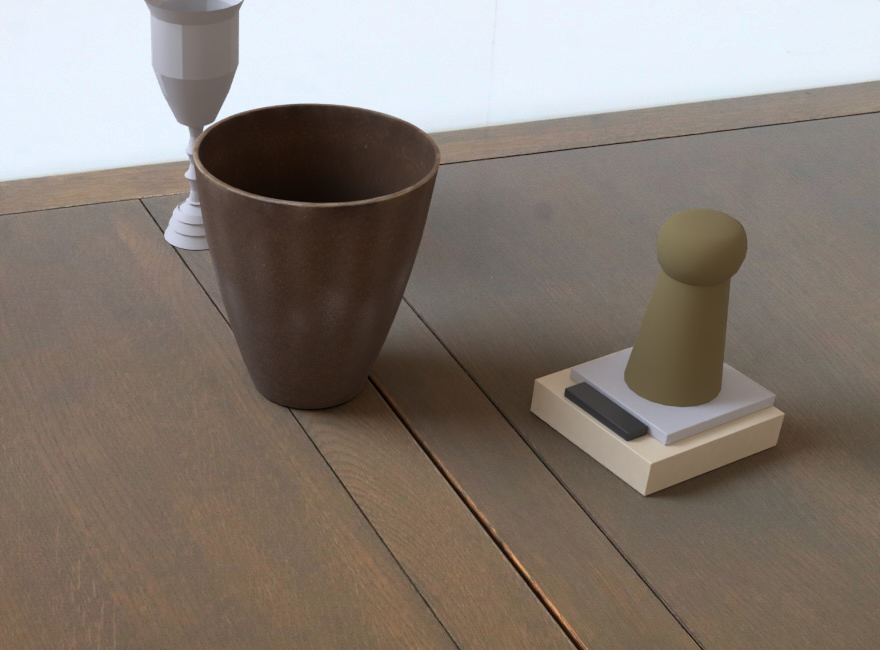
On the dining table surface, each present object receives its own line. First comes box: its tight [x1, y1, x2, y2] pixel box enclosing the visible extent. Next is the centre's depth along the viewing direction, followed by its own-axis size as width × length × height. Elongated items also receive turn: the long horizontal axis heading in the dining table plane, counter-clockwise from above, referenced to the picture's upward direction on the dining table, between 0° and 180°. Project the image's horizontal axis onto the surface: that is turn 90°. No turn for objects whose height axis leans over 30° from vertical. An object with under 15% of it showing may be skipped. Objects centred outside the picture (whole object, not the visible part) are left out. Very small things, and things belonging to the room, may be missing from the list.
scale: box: [530, 346, 786, 497], centre depth 100 cm, size 11×11×3 cm
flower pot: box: [192, 102, 441, 410], centre depth 100 cm, size 15×15×16 cm
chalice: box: [143, 0, 245, 251], centre depth 115 cm, size 7×7×18 cm
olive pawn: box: [624, 208, 749, 407], centre depth 95 cm, size 6×6×11 cm
